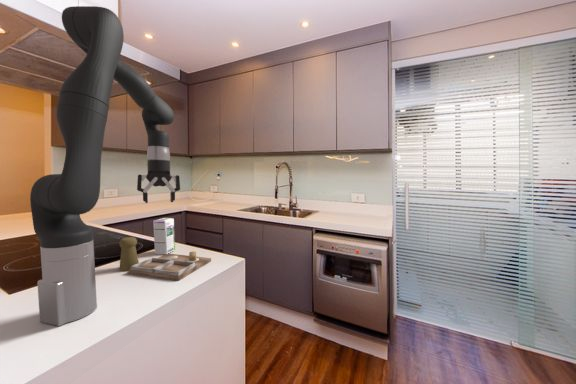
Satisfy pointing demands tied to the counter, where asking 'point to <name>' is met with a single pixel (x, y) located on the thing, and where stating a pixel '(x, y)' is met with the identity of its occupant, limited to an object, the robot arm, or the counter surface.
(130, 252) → the cork
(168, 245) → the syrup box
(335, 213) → the counter surface
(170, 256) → the board
